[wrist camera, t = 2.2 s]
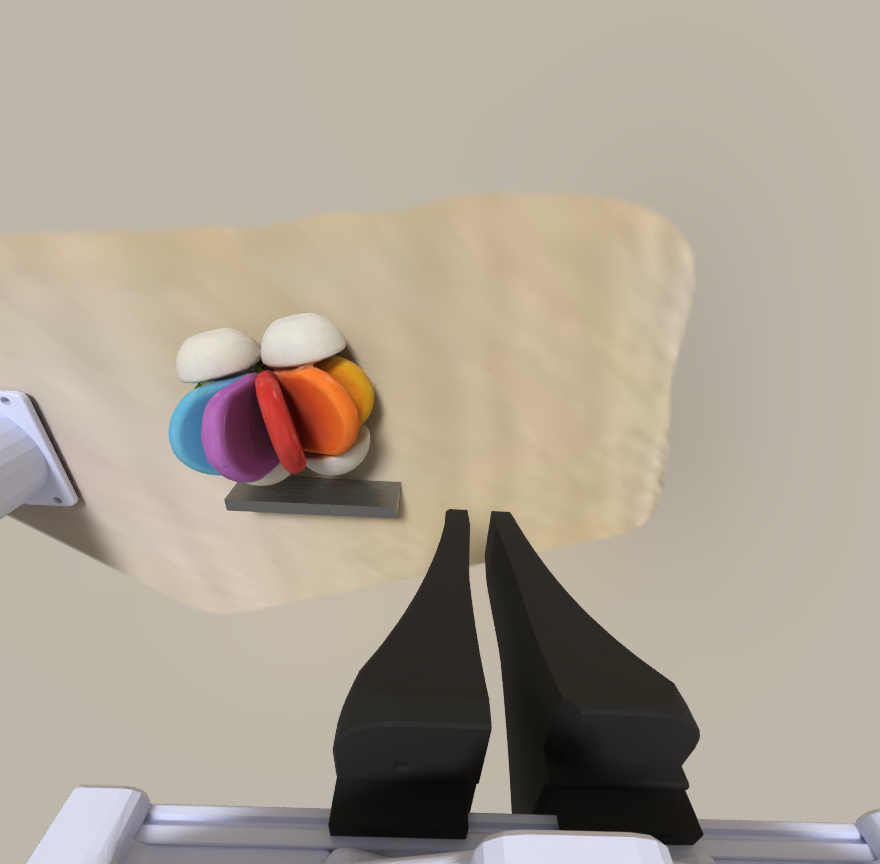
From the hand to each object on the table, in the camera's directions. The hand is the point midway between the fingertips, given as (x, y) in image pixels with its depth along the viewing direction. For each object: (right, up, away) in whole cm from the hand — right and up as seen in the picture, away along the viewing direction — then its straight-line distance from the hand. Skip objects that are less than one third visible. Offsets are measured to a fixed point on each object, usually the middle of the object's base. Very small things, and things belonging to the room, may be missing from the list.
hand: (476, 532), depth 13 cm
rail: (-9, 0, +12) cm, 15 cm away
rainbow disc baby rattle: (-10, +6, +9) cm, 14 cm away
